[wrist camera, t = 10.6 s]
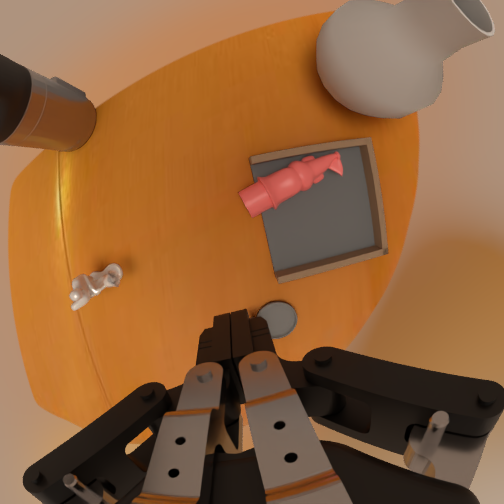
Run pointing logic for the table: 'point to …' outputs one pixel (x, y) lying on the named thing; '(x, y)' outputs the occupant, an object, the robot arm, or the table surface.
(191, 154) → the table surface
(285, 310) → the pocket watch
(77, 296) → the figurine
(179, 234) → the table surface
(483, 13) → the vase
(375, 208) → the tray
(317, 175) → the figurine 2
